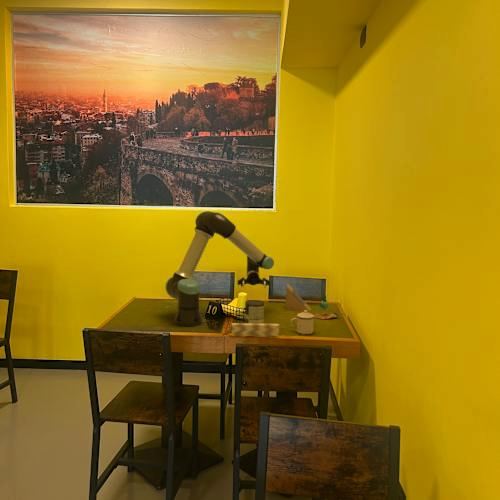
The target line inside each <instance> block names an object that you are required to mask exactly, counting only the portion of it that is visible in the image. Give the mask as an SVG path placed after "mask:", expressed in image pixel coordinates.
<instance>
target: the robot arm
mask: <svg viewBox="0 0 500 500" xmlns="http://www.w3.org/2000/svg"><path fill="white" fill-rule="evenodd" d="M194 221H195V227H194V232H195V234H194V235H193V238H192V240H191V242H190V244H189V247H188V249H187V251H186V253H185V255H184V258H183V260H182V262H181V264H180V265H179V268H178V270H177V271H175V272H174V273H173V275H172V277H169V278H168V280H166V283H165V288H164V289H165V292H166V294H167V295H168V296H169V297H171V298H172V299H175V300H176V301H177V311H176V314H175V316H174V324H175V325H176V326H179V327H189V328H190V327H197V325H198V326H200V325H202V324H203V316H202V314H201V310H200V290H201V288H200V283H199V281H197V280H195V279H193V275H194V273H195V271H196V270H197V267H198V265H199V263H200V260H201V257H202V256H203V254H204V251H205V249H206V248H207V244H208V243H209V240H210V239H213V237H214V236H215V234H216V235H219V236H221V237H222V238H223V239H225V240H226V239H227V240H228V241H229V242H230V243H231V244H233V245H234V246H235V247H236V248H238V249H239V250H240V251H241V252H243V253H244V254H245V255H246V278H245V277H241V278H240V279H238V280H237V286H239V285H240V287H242V289H245V285H247V284H248V285H251V286H256V285H263V288H264V289H266V288H267V287H268V286H271V280H269V279H267V278H266V277H263V278H260V268H261V269H264V270H270V269H272V268H273V267H274V265H275V259H274V258H273V257H270V256H268V255H266V253H264V252H263V251H262V250H260V249H259V248H258V247H257V246H256V245H255V244H254V243H253V242H252V241H250V239H248V238H247V237H246V236H245V235H244V234H243V233H242V232H240V230H238V229H237V226H236V225H235V223H233V222H232V221H231V220H229V219H228V218H227V216H225V215H224V214H222V213H220V212H215V211H209V210H207V211H202V212H200V213H199V214H197V216H196V218H195V220H194Z"/></svg>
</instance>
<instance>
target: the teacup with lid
mask: <svg viewBox="0 0 500 500" xmlns="http://www.w3.org/2000/svg"><path fill="white" fill-rule="evenodd" d="M314 315H315V314H312V313H310V312H309V311H307V310H304V311H303V312H302V311H301V312H300V313H297V315H296V317H292V319H291V320H290V324H291V326H292V327H293V328H296V332H297V333H298V334H299V333H301V334H300V335H305V334H307V335H312V334H313V333H314V322H315V321H314ZM295 320H296V325H294V322H293V321H295Z"/></svg>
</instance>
